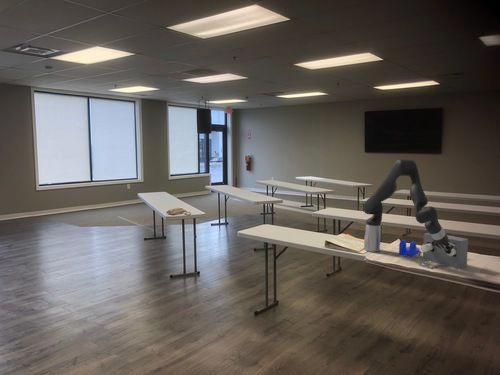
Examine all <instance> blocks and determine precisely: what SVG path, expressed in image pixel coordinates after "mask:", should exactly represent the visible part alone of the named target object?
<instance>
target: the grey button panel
mask: <svg viewBox="0 0 500 375" xmlns="http://www.w3.org/2000/svg"><path fill="white" fill-rule="evenodd" d="M447 236H448V240H449V241H450V243H452V244H453V243H455V246H454V248H457V251H456V255H453V256H449V255H448V254H447V253H446V252H445V250H443V249H440V248H439V247H437V246H436V245H435V246H434V250H430V251H427V252H423V251H422V260H423V261H425V262H429V261H431V262H430V263H433V262H434V264H437V263H438V265H442V266H445V267H449V268H453V269H457V270H462V269H464V268H467V265H468V250H469V248H468V247H469V239H468V238H464V237H460V236H453V235H448V234H447ZM432 241H433V239H432V238H431V236H430V235H429V232H426V233H423V243H422V245H424V244H429V243H432ZM449 246H450V245H449Z"/></svg>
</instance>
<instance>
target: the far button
mask: <svg viewBox="0 0 500 375" xmlns="http://www.w3.org/2000/svg"><path fill="white" fill-rule="evenodd" d="M423 244H424V243H423ZM423 244H422V245H421V246H420V250H421V252H422V253H423V252H427V251H430V250H434V246H435V245H434V244H433V243H429V244H424V245H423Z"/></svg>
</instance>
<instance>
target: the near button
mask: <svg viewBox="0 0 500 375" xmlns="http://www.w3.org/2000/svg"><path fill="white" fill-rule="evenodd" d="M456 251H457V248H453V249H452V250H451V253H450V254H448V255H449V256H453V255H456Z"/></svg>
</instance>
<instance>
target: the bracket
mask: <svg viewBox="0 0 500 375" xmlns="http://www.w3.org/2000/svg"><path fill="white" fill-rule="evenodd" d="M420 250H421V248H419V247H417V242H416V241H411V242H410V243H409V246H407V241H406V240H404V239H403V240H402V239H401V240H400V241H399V246H398V255H399V256H401V257H402V256H404V257H408V256H409V258H414V257H415V256H417V255H418V254H419V253H420ZM416 254H417V255H416ZM413 256H414V257H413Z"/></svg>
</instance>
